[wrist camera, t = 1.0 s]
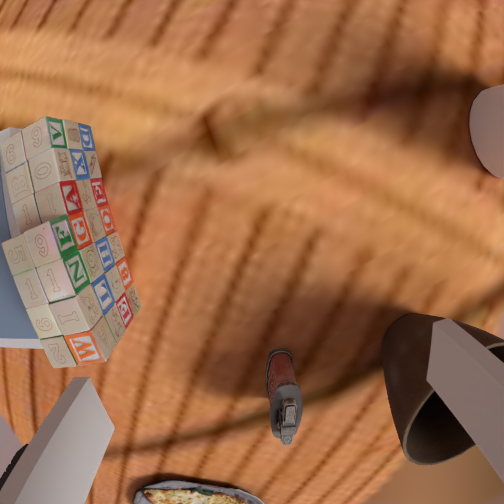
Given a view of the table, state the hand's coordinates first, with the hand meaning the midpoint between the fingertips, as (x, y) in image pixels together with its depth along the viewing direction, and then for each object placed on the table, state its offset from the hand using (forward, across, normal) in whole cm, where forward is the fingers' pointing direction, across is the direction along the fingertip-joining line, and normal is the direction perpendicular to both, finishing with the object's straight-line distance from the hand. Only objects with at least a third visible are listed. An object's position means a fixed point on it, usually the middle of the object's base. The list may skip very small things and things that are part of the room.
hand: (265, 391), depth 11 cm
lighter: (+24, +1, -17) cm, 30 cm away
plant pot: (+24, +18, -16) cm, 34 cm away
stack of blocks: (+24, -17, +5) cm, 30 cm away
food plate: (+24, -18, -48) cm, 57 cm away
